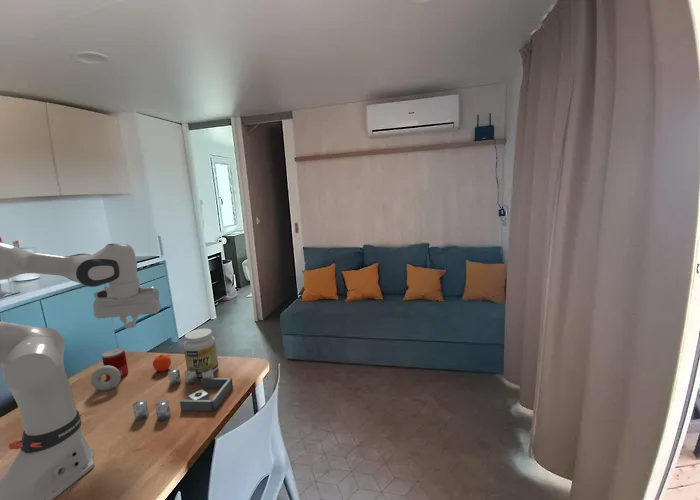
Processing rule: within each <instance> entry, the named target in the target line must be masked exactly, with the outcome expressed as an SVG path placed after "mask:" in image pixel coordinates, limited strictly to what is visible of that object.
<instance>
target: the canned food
mask: <svg viewBox="0 0 700 500" xmlns="http://www.w3.org/2000/svg"><path fill="white" fill-rule="evenodd" d="M101 358H102V363H103V366H107V365H109V366H113V367H115V368H117V369H118V370H119V372H120V374H121V379H123V378H125V377H126V376H127V375H128V374H129V368H128V362H127V357H126V351H125V348H124V347H115V348H111V349H108V350H106V351H104V352H103V353H102V354H101ZM105 378H106V380H107V381H109V380H110V379H111V377H110V376H109V375H107V374H105Z"/></svg>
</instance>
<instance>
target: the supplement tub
mask: <svg viewBox="0 0 700 500" xmlns="http://www.w3.org/2000/svg"><path fill="white" fill-rule="evenodd" d="M183 351H184V352H183V353H184V358H185V365H186V370H188V369H196V374H197V378H202V371H203V370H205V369H209V368H211V369H213V374H214V373H215V372H216V371H217V370H218V369H219V362H218V361H219V360H218V354H217V353H218V352H217V344H216V338H215V337H214V336H213V331H212V329H211V328H198V329H197V328H196V329H194V330H192V331H189V332H187V333H186V334H185V335H184V343H183Z"/></svg>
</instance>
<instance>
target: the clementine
mask: <svg viewBox="0 0 700 500" xmlns="http://www.w3.org/2000/svg"><path fill="white" fill-rule="evenodd" d="M171 365H172V360H171V357H170V356H169V355H168V354H163V353H159V354H158V355H157V356H156V357H155V358H154V359H153V361H152V367H153V369H154V370H155V371H157V372H165V371H166V370H168V369H169V368H170V366H171Z"/></svg>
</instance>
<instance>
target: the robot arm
mask: <svg viewBox="0 0 700 500" xmlns="http://www.w3.org/2000/svg"><path fill="white" fill-rule="evenodd" d="M136 257H137V256H136V253H135V251H134V248H133V247H132V246H131V245H129V244H124V243H107V244H105V246H104V247H103V248H101V249H100V250H98V251H97V252H95V253H93V254H90V253H76V254H73V255H72V254H71V255H66V256H64V255H54V254H44V253H37V252H32V251H28V250H25V249H23V248H20V247H18V246H16V245H13V244H9V243H5V242H1V241H0V281H2V280H10V279H11V278H13V277H14V278H15V277H16V276H20V275H25V274H39V275H53V276H60V277H64V278H66V279H69V280H70V281H73V282H75V283H78V284H80V285H82V286H85V287H89V288H90V287H91V288H92V287H94V288H95V287H99V286H103V285H105V284H108V286H104V287H103V288H101V289H99V290H97V291H95V292H94V293H93V298H94V300H93V305H92V306H93V315H94V318H96V319H108V318H118V317H119V320H120V321H121V322H122V323H123V324H124V328H125V329H130V328H135V327H137V324H136V323H137V320H138V318H139V315H140V316H141V315H143V316H144V315H152V314H157V313H158V312H159V311H160V310H161V308H162V307H161V302H160V298H159V297H160V294H159V290H158V289H156V288H154V287H153V286H152V287H141V284H140V278H139V275H138V272H137V271H138V262H137V258H136ZM129 316H130V317H131V319H132V321H129V320H128V319H127V317H129ZM65 343H66V342H65V339H64V337H63V336H62V335H61V333H60V332H58V331H57V330H56V329H54V328H51V327H42V326H41V327H38V326H34V325H32V326H31V325H28V324H25V325H24V324H20V323H11V322H6V321H0V365H2V375H3V380H4V382H5V384H6V386H8V388H9V390H10V393H11V394H12V397H13V398H14V400H15V402H16V405H17V407H18V409H19V410H18V411H19V415H20V419H21V423H22V427H23V432H22V436H21V440H11V441H10V442H9V445H8V449H9V450H20V451H19V452H18V453H17V455H16V456H15V458H14V459H13V461H12V462H11V463H10V465H9V467H8V468H7V469H6V470H5V472H4V474H2V475H1V477H0V500H54V499H55V498H56V497H59V495H60V494H61V493H63V492H64V491H65V490H66V489H68V488H69V487H70V486H72V485H73V484H74V483H75V482H77V481H78V480H79V479H80V478H82V477H83V476H84V475H85V474H87V473H88V472H89V471H91V470H92V469H93V468H94V467H95V466H96V465H95V464H96V463H95V462H94V460H93V459H94V451H93V449H92V448H91V447H90V445H89V444H88V441H87V440H86V437H85V435H84V433H83V432H84V431H83V430H82V427H81V426H82V418H81V415H80V411H79V410H78V409H77V406H76V402H75V396H74V392H73V388H72V385H71V383H70V381H69V379H68V375H67V373H66V369H65V364H64V354H65V353H64V352H65V348H66V347H65V345H66V344H65Z"/></svg>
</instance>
